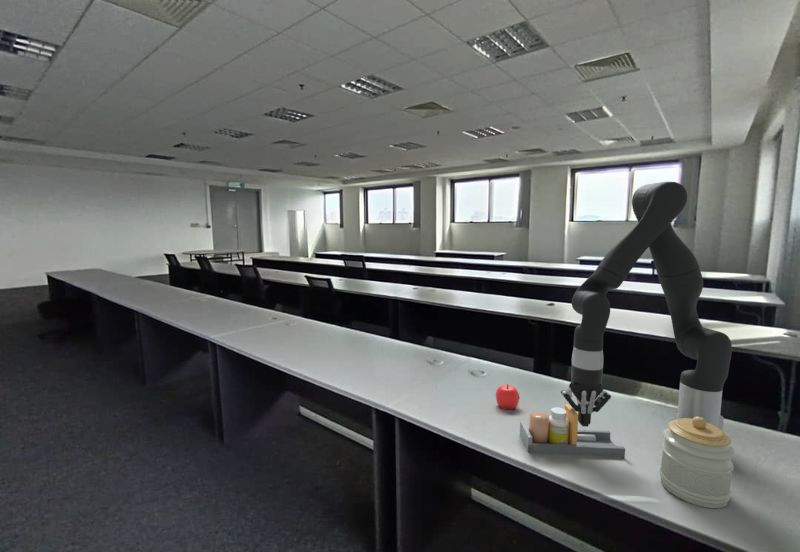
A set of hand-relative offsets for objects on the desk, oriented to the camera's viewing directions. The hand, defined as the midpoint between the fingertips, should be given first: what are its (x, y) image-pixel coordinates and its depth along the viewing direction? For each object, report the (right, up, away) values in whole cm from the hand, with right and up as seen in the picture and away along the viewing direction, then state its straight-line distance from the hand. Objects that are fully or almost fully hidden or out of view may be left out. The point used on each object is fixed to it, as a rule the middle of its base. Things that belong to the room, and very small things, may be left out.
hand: (584, 425), depth 104 cm
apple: (-14, -4, +26) cm, 30 cm away
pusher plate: (-1, -6, +1) cm, 6 cm away
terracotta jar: (-12, -6, +2) cm, 13 cm away
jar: (+17, -9, -16) cm, 25 cm away
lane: (-4, -7, +1) cm, 8 cm away
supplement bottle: (-7, -6, +1) cm, 9 cm away
